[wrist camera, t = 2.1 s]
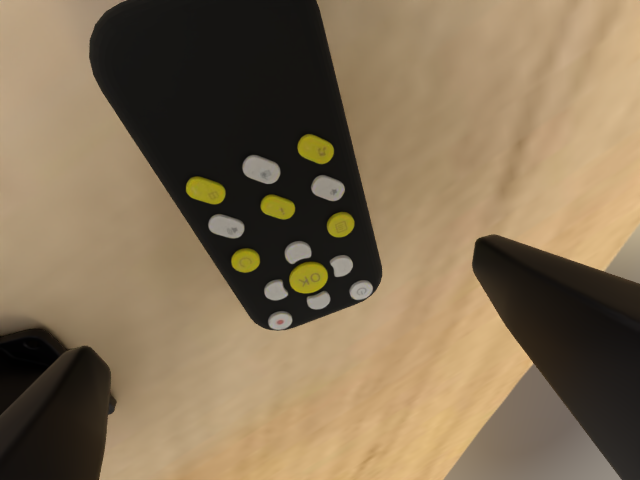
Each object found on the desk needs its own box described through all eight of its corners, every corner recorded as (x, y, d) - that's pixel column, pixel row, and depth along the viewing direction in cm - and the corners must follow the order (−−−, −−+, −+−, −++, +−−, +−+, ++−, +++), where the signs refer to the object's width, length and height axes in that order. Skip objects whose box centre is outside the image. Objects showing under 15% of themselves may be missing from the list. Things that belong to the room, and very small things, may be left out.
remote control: (293, -58, 9) (306, -71, 8) (377, 271, 17) (393, 299, 15) (78, 23, 9) (46, 27, 8) (260, 315, 17) (263, 347, 15)
